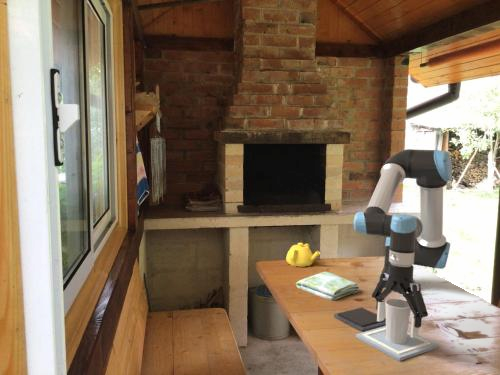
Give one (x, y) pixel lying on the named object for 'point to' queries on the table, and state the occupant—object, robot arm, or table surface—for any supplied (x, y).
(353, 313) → the ink pad
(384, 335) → the board
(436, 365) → the table surface
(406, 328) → the cup
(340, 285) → the towel
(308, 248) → the teapot
